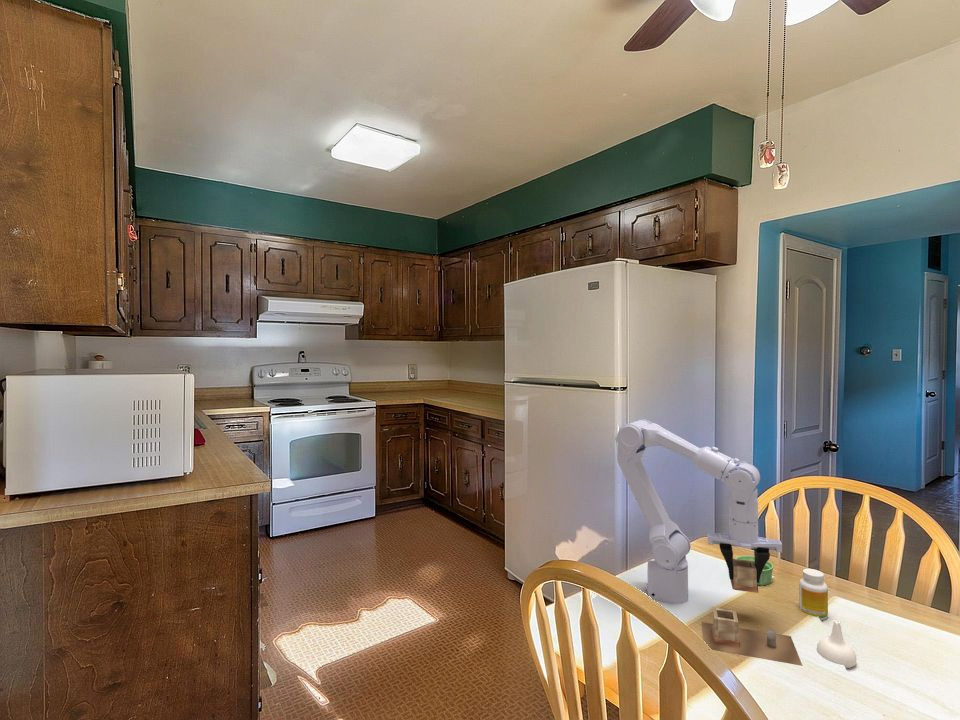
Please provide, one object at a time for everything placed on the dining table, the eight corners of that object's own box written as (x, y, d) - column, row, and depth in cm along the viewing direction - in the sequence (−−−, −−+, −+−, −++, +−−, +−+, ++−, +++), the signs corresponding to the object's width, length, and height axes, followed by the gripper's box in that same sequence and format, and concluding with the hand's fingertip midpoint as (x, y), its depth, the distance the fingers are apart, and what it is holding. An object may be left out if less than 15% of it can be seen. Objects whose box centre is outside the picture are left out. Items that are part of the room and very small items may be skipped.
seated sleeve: (713, 642, 103) (712, 618, 102) (711, 629, 107) (711, 606, 107) (740, 647, 101) (740, 623, 101) (737, 633, 105) (737, 610, 105)
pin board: (704, 653, 101) (704, 633, 101) (701, 626, 110) (701, 608, 110) (802, 670, 95) (802, 650, 95) (790, 640, 104) (790, 621, 104)
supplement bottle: (832, 621, 111) (832, 578, 110) (805, 619, 112) (805, 577, 111) (821, 609, 116) (821, 567, 116) (795, 607, 117) (795, 566, 117)
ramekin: (737, 568, 138) (737, 552, 138) (775, 576, 132) (775, 560, 132) (731, 581, 130) (731, 564, 130) (771, 590, 125) (771, 573, 125)
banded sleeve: (732, 589, 110) (732, 567, 110) (730, 579, 115) (729, 557, 114) (758, 593, 108) (758, 570, 108) (754, 582, 113) (754, 560, 113)
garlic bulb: (810, 658, 99) (808, 620, 99) (827, 645, 102) (825, 608, 102) (846, 676, 94) (844, 636, 93) (863, 662, 97) (861, 623, 96)
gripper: (708, 521, 110) (709, 582, 110) (785, 528, 105) (785, 592, 105) (706, 511, 116) (707, 568, 117) (778, 517, 111) (778, 577, 112)
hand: (743, 579), depth 111 cm, fingers closed on banded sleeve, 4 cm apart
